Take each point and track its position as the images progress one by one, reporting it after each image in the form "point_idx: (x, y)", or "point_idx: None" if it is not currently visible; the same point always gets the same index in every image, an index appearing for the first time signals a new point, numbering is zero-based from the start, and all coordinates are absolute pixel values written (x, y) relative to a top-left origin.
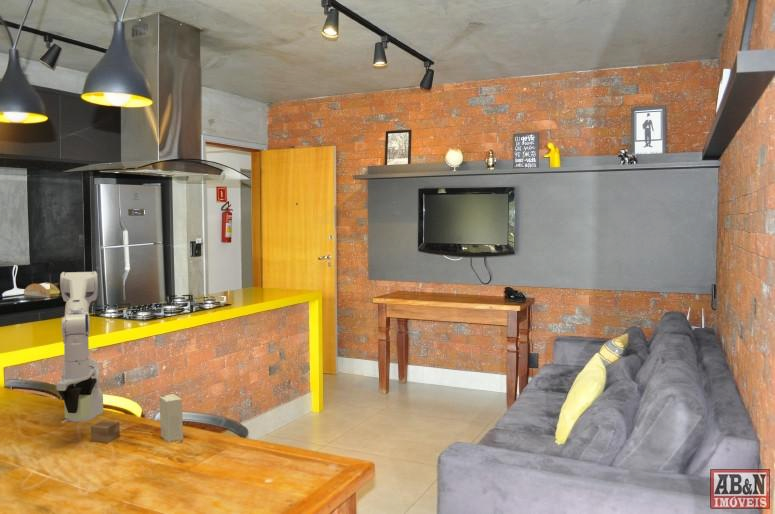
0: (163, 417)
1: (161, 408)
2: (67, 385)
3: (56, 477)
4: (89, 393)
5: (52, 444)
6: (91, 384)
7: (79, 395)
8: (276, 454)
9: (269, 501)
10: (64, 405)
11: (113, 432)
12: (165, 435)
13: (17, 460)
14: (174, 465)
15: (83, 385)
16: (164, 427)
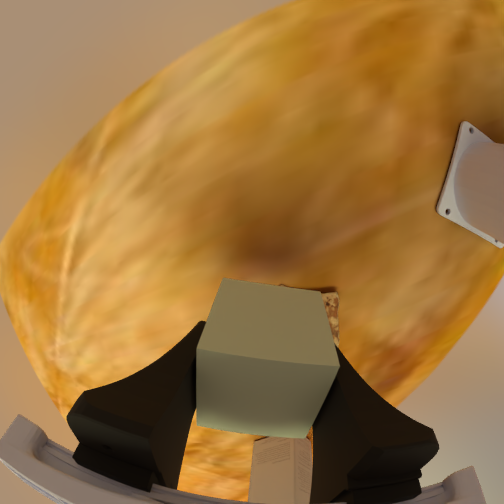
0: (269, 482)
1: (280, 495)
2: (89, 480)
3: (65, 295)
4: (315, 439)
5: (264, 170)
6: (310, 498)
7: (306, 399)
8: None
9: None
10: (207, 320)
11: None
12: (264, 451)
13: (123, 132)
14: None
15: (331, 467)
16: (267, 463)
